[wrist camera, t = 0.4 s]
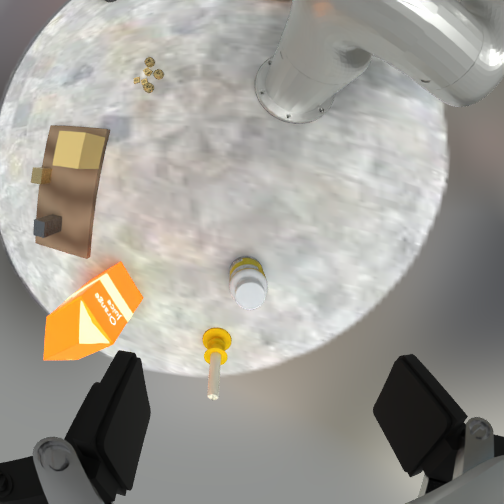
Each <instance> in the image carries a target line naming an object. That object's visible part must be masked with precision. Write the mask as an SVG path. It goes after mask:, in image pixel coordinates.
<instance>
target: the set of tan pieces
mask: <svg viewBox="0 0 504 504" xmlns="http://www.w3.org/2000/svg"><path fill="white" fill-rule="evenodd" d="M144 62H145V64H146V65H147V68H146V69H144V70H143V71H144V73H145V75H147V76H150V75H151V73H152V72H153V71H151V70H150V69H149V68H148V67H152V66H154V64H155V62H154V60H153V58H151V57H148V58H146V59H145V61H144ZM153 74H154V77H155V78H156V79H159V80H160V79H162V78H163V76H164V74H163V72H162V70H160V69H157V70H155V71H154V73H153ZM139 82H140V77H137V78H134V84H135V83H139ZM141 82H142V85H144V86H143V88H144V90H145V91H146V92H148V93H150V92H152V91H153V90H154V87H153V85H152V84H151V83H148V81H147V78H146V79H143V80H141Z"/></svg>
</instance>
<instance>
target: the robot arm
mask: <svg viewBox="0 0 504 504" xmlns="http://www.w3.org/2000/svg"><path fill="white" fill-rule="evenodd" d="M372 55H374V56H376V57H378V58H379V59H381V60H383V61H385V62H387V63H388V64H390V65H392V66H393V67H395V68H396V69H398V70H399V71H401V72H402V73H403V74H405V75H406V76H408V77H409V78H410V79H412V80H413V81H415V82H416V83H417V84H419V85H420V86H421V87H423V88H424V89H425V90H427V91H428V92H429V93H431V94H432V95H433V96H435V97H436V98H438V99H439V100H441V101H442V102H444V103H446V104H448V105H452V106H456V107H465V106H469V105H472V104H475V103H477V102H479V101H480V100H482V99H483V98H485V97H486V96H487V95H488V94H489V93H490V92H491V91H492V90H493V89H494V88H495V87H496V86H497V85H498V83H499V82H500V81H501V80H502V78H503V77H504V0H460V2H458V1H457V0H292V6H291V11H290V15H289V18H288V21H287V24H286V26H285V29H284V32H283V34H282V37H281V39H280V42H279V45H278V47H277V50H276V53H275V55H274V56H273V57H271V58H270V59H268V60H267V61H266V62H265V63H263V65H262V66H261V67H260V69H259V71H258V73H257V76H256V80H255V89H256V94H257V97H258V99H259V101H260V103H261V104H262V106H263V107H264V108H265V109H266V110H267V111H268V112H269V113H270V114H272V115H273V116H274V117H276V118H278V119H280V120H282V121H285V122H289V123H295V124H303V123H308V122H312V121H314V120H317V119H318V118H320V117H321V116H323V115H324V114H325V113H326V112H327V111H328V110H329V108H330V107H331V105H332V102H333V99H334V94H335V93H337V92H338V91H340V90H341V89H342V88H344V87H345V86H346V85H348V84H349V83H350V82H352V81H353V80H354V79H356V78H357V77H359V76H360V75H361V74H362V73H363V72H364V71H365V70H366V69H367V68H368V66H369V64H370V62H371V59H372ZM269 64H271V65H269ZM261 92H262V93H263V94H260V93H261ZM319 110H321V112H319ZM286 116H288V117H289V118H286ZM150 413H151V412H150V405H149V401H148V396H147V391H146V385H145V380H144V375H143V368H142V362H141V359H140V358H137V357H136V354H135V353H132V352H126V351H120V350H119V351H118V352H117V354H116V355H115V357H114V359H113V361H112V362H111V364H110V366H109V368H108V369H107V371H106V373H105V375H104V377H103V379H102V380H101V382H100V383H99V382H96V383H94V384H93V386H92V387H91V389H90V391H89V393H88V394H87V396H86V398H85V400H84V402H83V404H82V406H81V407H80V409H79V411H78V413H77V415H76V417H75V419H74V421H73V423H72V425H71V427H70V429H69V431H68V433H67V435H66V437H65V439H62V438H58V437H47V438H44V439H42V440H40V441H39V442H38V443H37V444H36V445H35V447H34V449H33V456H30V457H27V458H22V459H18V460H13V461H9V462H4V463H0V504H114V503H113V501H115V497H116V494H120V495H123V496H125V495H126V490H131V489H132V487H133V482H134V478H135V474H136V470H137V465H138V461H139V457H140V453H141V449H142V446H143V442H144V438H145V434H146V430H147V427H148V423H149V419H150ZM373 413H374V416H375V417H376V419H377V421H378V423H379V425H380V427H381V428H382V430H383V432H384V434H385V436H386V438H387V440H388V441H389V443H390V445H391V447H392V449H393V451H394V453H395V454H396V456H397V458H398V460H399V462H400V464H401V466H402V468H403V469H404V471H405V472H408V474H409V476H410V477H412V476H415V475H417V474H419V473H421V472H422V471H424V473H425V475H424V479H423V482H422V486H421V489H420V492H419V496H418V498H417V499H415V500H412V501H410V502H408V503H406V504H504V437H502V436H498V435H493V428H492V426H491V424H490V423H489V422H488V421H486V420H485V419H483V418H480V417H474V418H471V419H469V420H468V422H467V423H466V424H465V423H464V421H465V419H466V418H467V417H468V416H467V415H466V414H465V412H464V411H463V410H462V409H461V408H460V406H459V405H458V404H457V403H456V402H455V401H454V399H453V398H452V397H451V396H450V395H449V394H448V392H447V391H446V390H445V389H444V388H443V387H442V386H441V384H440V383H439V382H438V381H437V380H436V379H435V377H434V376H433V375H432V374H431V373H430V372H429V371H428V370H427V369H426V367H425V366H424V365H423V364H422V363H421V362H420V361H419V360H418V359H417V357H416V356H415V355H413V354H410V355H403V356H400V357H399V358H398V359H397V360H396V361H395V362H394V365H393V367H392V369H391V372H390V374H389V376H388V378H387V381H386V383H385V385H384V387H383V389H382V391H381V393H380V395H379V397H378V399H377V402H376V403H375V405H374V408H373Z"/></svg>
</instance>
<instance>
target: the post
mask: <svg viewBox="0 0 504 504" xmlns="http://www.w3.org/2000/svg"><path fill="white" fill-rule="evenodd" d="M61 229H62V216H58V215H53V214H51V215H48V216H44V217H41V218H37V219H34V235H36V236H39V237H42V238H45V237H48V236H50V235H53V234H55V233H58V232H60V231H61Z"/></svg>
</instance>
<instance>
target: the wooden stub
mask: <svg viewBox="0 0 504 504" xmlns="http://www.w3.org/2000/svg"><path fill="white" fill-rule="evenodd" d="M51 174H52V169H51V168H44V167H36V168H33V171H32V179H31V183H36V184H47V183H50V181H51Z"/></svg>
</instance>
